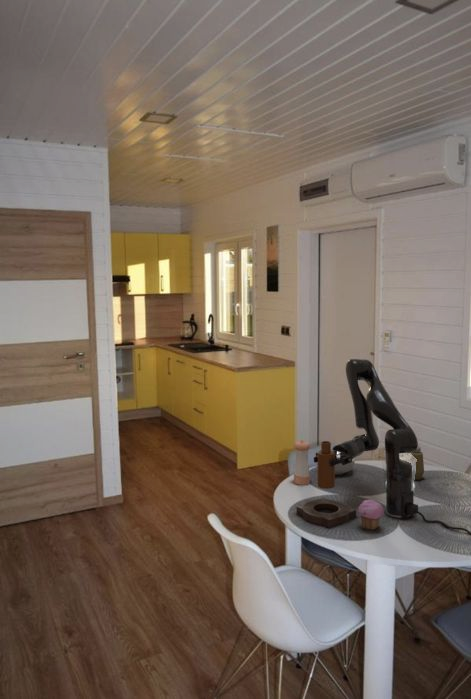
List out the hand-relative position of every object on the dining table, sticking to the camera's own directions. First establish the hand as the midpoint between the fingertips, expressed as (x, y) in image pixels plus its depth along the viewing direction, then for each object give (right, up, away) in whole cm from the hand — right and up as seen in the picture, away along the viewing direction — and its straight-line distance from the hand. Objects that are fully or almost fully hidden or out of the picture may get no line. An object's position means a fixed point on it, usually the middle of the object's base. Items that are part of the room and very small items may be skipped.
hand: (322, 461), depth 216 cm
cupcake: (+16, -23, -7) cm, 29 cm away
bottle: (+2, -10, +3) cm, 10 cm away
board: (+2, -21, +4) cm, 22 cm away
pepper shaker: (-3, -18, +42) cm, 46 cm away
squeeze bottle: (+49, -16, +45) cm, 68 cm away
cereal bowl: (+15, -16, +55) cm, 59 cm away
